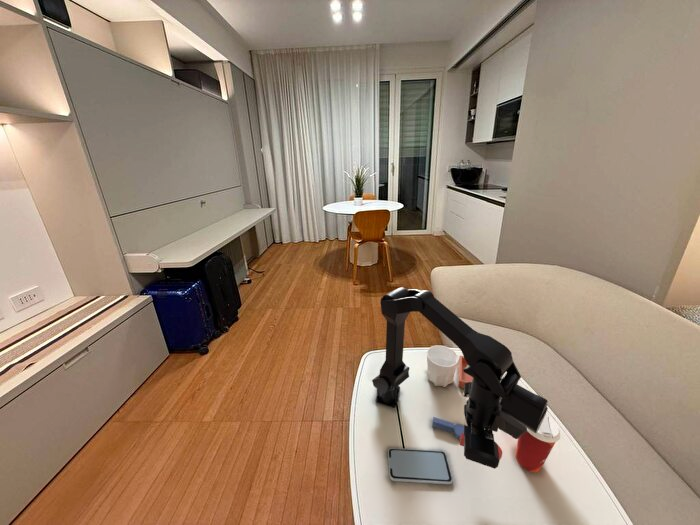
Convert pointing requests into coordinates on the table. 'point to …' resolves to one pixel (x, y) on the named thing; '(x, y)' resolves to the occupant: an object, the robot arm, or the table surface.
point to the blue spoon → (448, 427)
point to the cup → (441, 365)
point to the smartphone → (419, 466)
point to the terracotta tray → (463, 373)
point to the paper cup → (537, 445)
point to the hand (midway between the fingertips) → (473, 443)
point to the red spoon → (463, 445)
